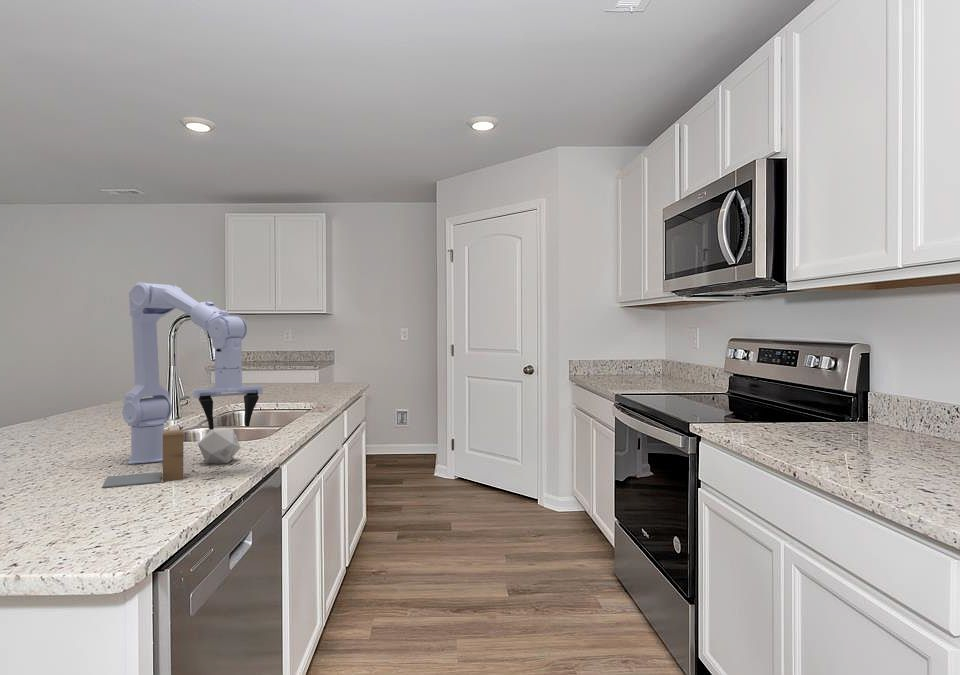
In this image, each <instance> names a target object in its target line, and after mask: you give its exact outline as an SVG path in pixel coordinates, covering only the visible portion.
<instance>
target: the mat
mask: <svg viewBox="0 0 960 675" xmlns="http://www.w3.org/2000/svg"><path fill="white" fill-rule="evenodd" d="M162 476H163V471H156V472H147V473H146V472H143V473H133V474H132V473H131V474H122V475H113V476H106V477H105V478H106V479H105V480H104V482H103V484H102V485H101V489H105V488H106V489H108V488H118V487H127V486H128V487H131V486H140V485H150V484H159V483H161V481H162Z"/></svg>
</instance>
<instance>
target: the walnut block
mask: <svg viewBox="0 0 960 675" xmlns="http://www.w3.org/2000/svg"><path fill="white" fill-rule="evenodd" d="M183 480H184V429H175V430H173V429H171V430H164V431H163V461H162V482H171V481H183Z"/></svg>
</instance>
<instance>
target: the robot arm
mask: <svg viewBox="0 0 960 675" xmlns="http://www.w3.org/2000/svg"><path fill="white" fill-rule="evenodd" d="M128 299H129V300H128V302H129V316H131V331H132V332H131V333H132V351H133V352H132V353H133V369H134V370H133V371H134V384H135V385H134V387H132V388H131V389H130V390H129V391H128V392H127V393H125V394H124V401H123V403H124V404H123V406H122V410H121V414H122V417H123V420H124V421H125V423H126V424H127V426H129V427H130V457H129V459H128V461H127V464H128V465H134V464H148V463H157V462H158V463H161V462H163V431H165V424H167V423H168V419H169V418H170V417H171V415H172V414H173V405H172V402H171V400H170V395H169V394H170V392H169V390H167V389H166V388H165V387H163V386H162V385H161V383H160V370H159V368H160V366H159V348H158V332H157V331H158V330H157V327H158V326H157V323H158V321H160V319H162V318H163V317H166V316H167V315H168V314H170V313H172V312H173V311H175V310H176V309H178V310H180V311H181V312H183V313H185V314H188V315H189V316H190V320H191V322H192V323H193V324H195V325H197V327H200V328H201V329H202V330H204V331H206V332H207V333H208V335H209V337H210V340H211V346H212V347H213V349H214V386H215V387H206V388H205V387H204V388H193V398H194V399H198V401H199V403H200V405H201V408H202V409H203V411H204V414H205V416H206V420H207V424H208V429H209V431H210V430H213V429H215V427H214V425H215V424H214V415H213V412H214V400H213V398H214V397H217V398H218V397H228V396H229V397H233V396H243V402H244V422H243V423H244V426H245V427H250V424H251V419H252V415H253V412H254V409H255V407H256V405H257V402H258V401H259V398H260V397H259V395H263V394H264V390H263V388H264V387H263V385H261V384H260V385H243V354H242V352H243V351H242V350H243V349H242V348H243V347H242V344H243V342H242V340H244V339H245V337H246V336H247V333H248V325H247V323H246V320H245V319H244V318H243V317H242V316H241V315H233V316H231V315H230V314H228V311H226V310H225V309H224V310H222V309H219V308H218V307H217V306H215V303H214V302H212V301H206V300H205V301H201V302H199V301H197V300H195V299H194V298H192V297H191V296H190V295H188V294H187V293H186V292H184V291H183V288H182V287H178V286H177V285H175V284H160V283H149V282H147V283H146V282H143V281H138V282H137V283H135V284H134V285H133V287H132V288H131V289H130V291H129V292H128Z"/></svg>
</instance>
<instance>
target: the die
mask: <svg viewBox="0 0 960 675" xmlns="http://www.w3.org/2000/svg"><path fill="white" fill-rule="evenodd" d="M197 445H198V447H199V451H200V452H201V454H202V457H203V459H204V461H205V463H206V464H229V462H230V461H231V460H232V459H233V458H234V456H236V454H237V453H238V452H239V451H240V449H241V444H240V443H239V440H238V437H237V435H236V433H235V431H234V429H233V428H214V429H213V430H210V429H209V430H208V432H206V434H205V435H204V437H202V438H201V440H199V442H198V443H197Z"/></svg>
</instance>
